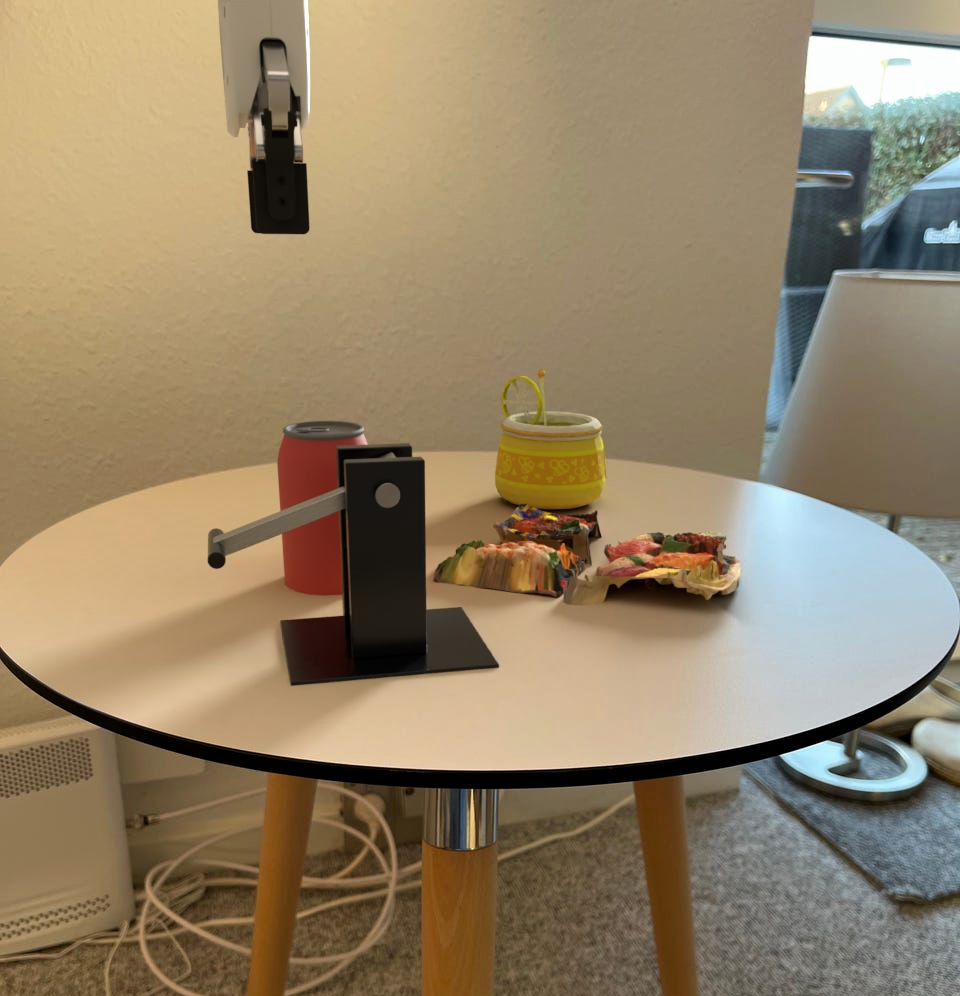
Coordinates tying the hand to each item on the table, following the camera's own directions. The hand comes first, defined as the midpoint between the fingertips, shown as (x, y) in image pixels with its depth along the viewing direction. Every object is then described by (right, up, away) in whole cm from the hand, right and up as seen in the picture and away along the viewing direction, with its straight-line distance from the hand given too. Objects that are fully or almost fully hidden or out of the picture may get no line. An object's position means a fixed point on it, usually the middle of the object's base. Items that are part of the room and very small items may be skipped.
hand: (278, 233), depth 67 cm
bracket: (+7, -28, -4) cm, 29 cm away
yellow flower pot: (+20, -13, +34) cm, 41 cm away
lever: (+4, -21, -8) cm, 23 cm away
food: (+22, -22, +10) cm, 33 cm away
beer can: (+3, -24, +7) cm, 25 cm away
